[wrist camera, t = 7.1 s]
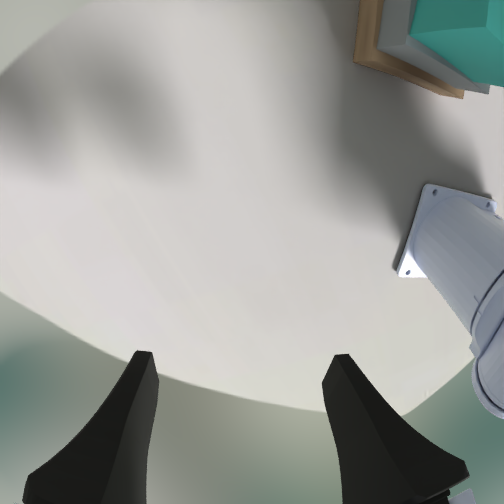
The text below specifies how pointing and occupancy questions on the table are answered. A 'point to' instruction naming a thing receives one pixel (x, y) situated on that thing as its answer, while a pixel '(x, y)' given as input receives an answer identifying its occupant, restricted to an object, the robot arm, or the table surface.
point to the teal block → (464, 35)
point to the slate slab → (417, 46)
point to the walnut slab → (386, 63)
